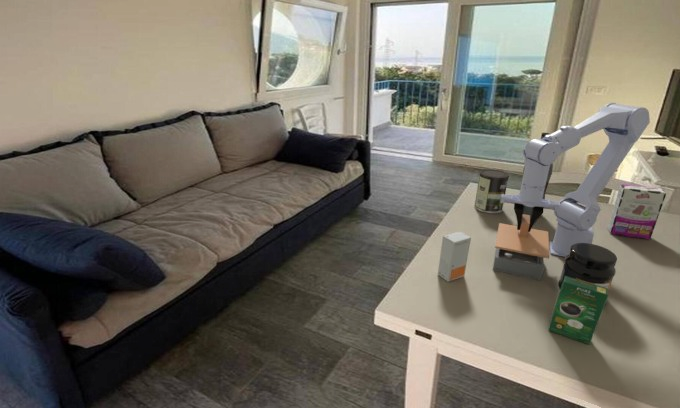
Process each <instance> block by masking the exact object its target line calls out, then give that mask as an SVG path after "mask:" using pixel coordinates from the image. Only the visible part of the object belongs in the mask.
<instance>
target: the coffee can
mask: <svg viewBox="0 0 680 408" xmlns="http://www.w3.org/2000/svg"><path fill="white" fill-rule="evenodd" d="M478 174H479V175H478V182H477V188H476V194H475V200H474V205H473V207H474V208H475V210H477V211H479V212H483V213H487V214H499V213H501V212H503V207H504V203H500V202H501V196H502V194H504V195H506V193H507V192H506V191H507V187H508V182H509V176H510V174H509V173H508V172H506V171H503V170H499V169H491V168H490V169H487V168H485V169H481V170H480V171H479V173H478Z"/></svg>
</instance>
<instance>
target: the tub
mask: <svg viewBox="0 0 680 408" xmlns="http://www.w3.org/2000/svg"><path fill="white" fill-rule="evenodd" d="M544 259H545V258H543V257H538V256H533V255H528V254H523V253H518V252H513V251H508V250H503V249H498V248H495V253H494V260H493V266H492V270H494V271H498V272H502V273H506V274H511V275H515V276H520V277H525V278H530V279H534V280H537V281H542V277H543V273H544V269H545V261H544Z"/></svg>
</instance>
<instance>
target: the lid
mask: <svg viewBox="0 0 680 408" xmlns="http://www.w3.org/2000/svg"><path fill="white" fill-rule="evenodd" d="M529 225H530V215H525V214H523V215H522V219H521V227H520V230H517V225H511V224H507V223H501V222H499V223H498V227H497V228H498V229H497V233H496V234H497V235H496V241H495V247H494V248H495V249H496V248H498V249H503V250H508V251H513V252H518V253H523V254H528V255H533V256H538V257H543V259H548V260H549V259H550V244H549V242H550V239H549V231H547V230H541V229H535V228H531V231H530V232H528V229H529Z"/></svg>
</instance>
